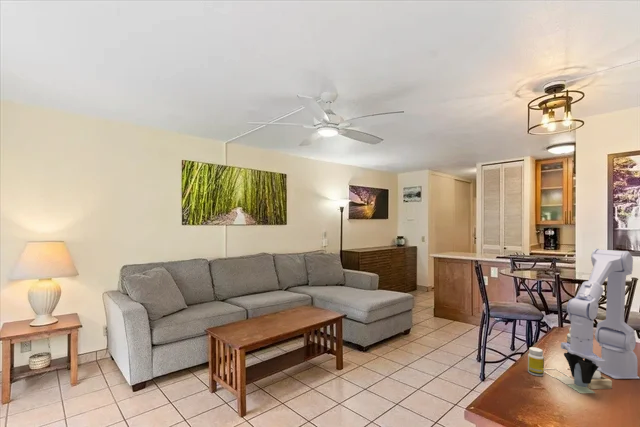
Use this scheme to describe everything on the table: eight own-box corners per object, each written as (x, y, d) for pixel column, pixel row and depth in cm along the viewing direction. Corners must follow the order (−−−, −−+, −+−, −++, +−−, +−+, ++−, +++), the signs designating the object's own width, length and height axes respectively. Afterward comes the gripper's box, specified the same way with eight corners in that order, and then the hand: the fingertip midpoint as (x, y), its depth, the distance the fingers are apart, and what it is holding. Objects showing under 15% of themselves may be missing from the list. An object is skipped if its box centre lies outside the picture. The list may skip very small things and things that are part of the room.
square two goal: (581, 385, 109) (581, 384, 109) (595, 393, 104) (595, 392, 104) (567, 385, 109) (567, 384, 109) (580, 393, 104) (580, 392, 104)
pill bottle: (582, 352, 137) (582, 328, 137) (584, 357, 133) (584, 332, 133) (566, 349, 140) (566, 326, 140) (567, 353, 135) (567, 329, 136)
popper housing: (592, 378, 114) (592, 370, 115) (611, 388, 108) (611, 380, 108) (573, 378, 114) (573, 370, 114) (591, 388, 107) (591, 380, 107)
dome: (592, 376, 113) (592, 367, 113) (604, 382, 109) (604, 373, 109) (580, 376, 113) (580, 367, 113) (591, 382, 108) (591, 374, 108)
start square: (556, 368, 121) (556, 368, 121) (570, 377, 115) (570, 376, 115) (539, 369, 121) (539, 368, 121) (552, 377, 114) (552, 376, 114)
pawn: (581, 381, 109) (581, 360, 109) (590, 387, 105) (590, 365, 105) (571, 381, 108) (571, 360, 108) (580, 387, 105) (580, 365, 105)
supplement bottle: (546, 377, 114) (546, 352, 115) (531, 375, 115) (531, 351, 116) (540, 371, 119) (540, 347, 119) (525, 369, 120) (525, 346, 120)
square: (568, 377, 115) (568, 376, 115) (580, 384, 110) (580, 383, 110) (554, 377, 115) (554, 376, 115) (566, 384, 110) (566, 383, 110)
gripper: (552, 329, 114) (551, 369, 114) (589, 345, 100) (589, 391, 99) (572, 329, 114) (571, 369, 114) (611, 345, 100) (611, 391, 100)
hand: (581, 379), depth 107 cm, fingers closed on pawn, 3 cm apart
